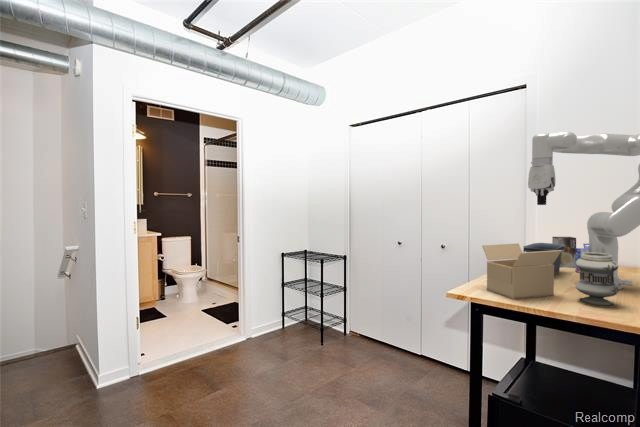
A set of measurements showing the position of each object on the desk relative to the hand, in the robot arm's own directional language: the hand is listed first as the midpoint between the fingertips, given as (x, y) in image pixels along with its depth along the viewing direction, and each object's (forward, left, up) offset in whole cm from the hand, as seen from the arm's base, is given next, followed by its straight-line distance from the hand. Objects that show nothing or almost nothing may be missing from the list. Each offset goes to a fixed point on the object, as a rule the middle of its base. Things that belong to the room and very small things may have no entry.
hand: (541, 204), depth 148 cm
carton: (+3, +21, -35) cm, 41 cm away
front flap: (-4, +25, -20) cm, 32 cm away
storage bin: (+5, -23, -35) cm, 42 cm away
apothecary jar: (-21, +18, -35) cm, 45 cm away
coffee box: (0, -51, -35) cm, 62 cm away
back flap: (+10, +17, -20) cm, 28 cm away
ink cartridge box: (-12, -40, -35) cm, 55 cm away
